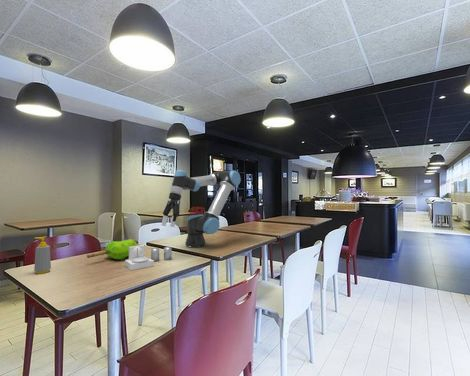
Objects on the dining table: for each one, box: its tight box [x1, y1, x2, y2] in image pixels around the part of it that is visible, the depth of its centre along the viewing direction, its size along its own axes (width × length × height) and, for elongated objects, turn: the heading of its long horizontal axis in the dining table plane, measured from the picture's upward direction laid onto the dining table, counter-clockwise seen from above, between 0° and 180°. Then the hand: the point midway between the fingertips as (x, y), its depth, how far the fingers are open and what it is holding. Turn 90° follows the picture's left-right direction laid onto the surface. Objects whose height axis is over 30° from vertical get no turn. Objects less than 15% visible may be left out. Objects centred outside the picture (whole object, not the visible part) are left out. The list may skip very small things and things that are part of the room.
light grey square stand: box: [124, 244, 155, 271], centre depth 143 cm, size 12×12×10 cm
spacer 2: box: [163, 246, 173, 261], centre depth 157 cm, size 5×5×7 cm
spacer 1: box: [150, 247, 160, 263], centre depth 154 cm, size 5×5×7 cm
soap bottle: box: [33, 236, 52, 275], centre depth 132 cm, size 7×7×18 cm
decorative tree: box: [86, 238, 138, 261], centre depth 157 cm, size 18×10×30 cm
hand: (167, 226), depth 163 cm, fingers open, 13 cm apart
